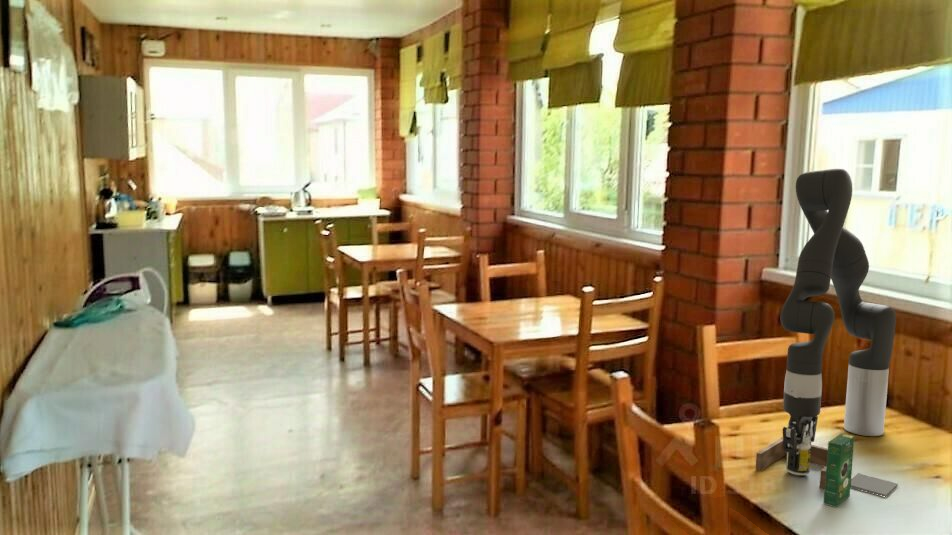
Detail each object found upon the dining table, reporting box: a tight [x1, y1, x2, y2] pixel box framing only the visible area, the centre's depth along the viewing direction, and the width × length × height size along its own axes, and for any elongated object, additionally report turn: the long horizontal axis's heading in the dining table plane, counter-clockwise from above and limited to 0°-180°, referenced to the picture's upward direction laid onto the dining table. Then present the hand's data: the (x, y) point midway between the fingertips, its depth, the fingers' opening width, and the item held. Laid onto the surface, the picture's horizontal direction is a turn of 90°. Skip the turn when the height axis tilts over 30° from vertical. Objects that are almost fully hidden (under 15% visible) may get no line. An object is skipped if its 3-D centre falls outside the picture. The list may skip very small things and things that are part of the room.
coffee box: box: [822, 433, 855, 508], centre depth 158 cm, size 8×3×13 cm, turn 136°
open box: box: [755, 436, 828, 491], centre depth 173 cm, size 14×15×4 cm
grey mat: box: [850, 472, 899, 498], centre depth 165 cm, size 8×8×1 cm
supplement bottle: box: [785, 434, 811, 476], centre depth 171 cm, size 5×5×8 cm
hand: (797, 465), depth 171 cm, fingers closed on supplement bottle, 4 cm apart
